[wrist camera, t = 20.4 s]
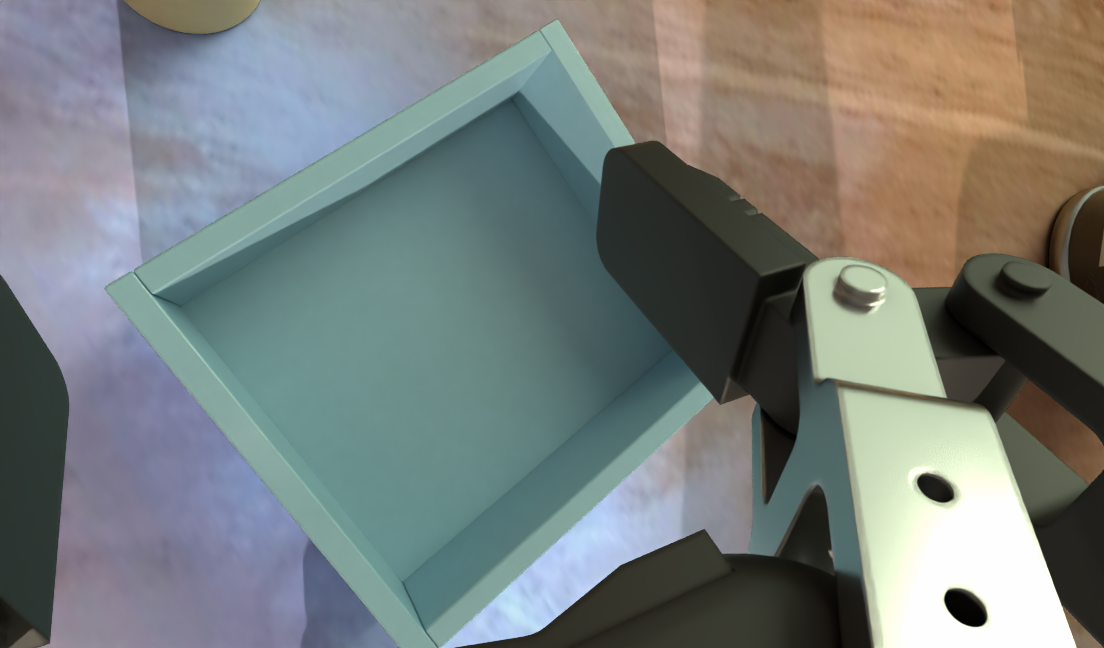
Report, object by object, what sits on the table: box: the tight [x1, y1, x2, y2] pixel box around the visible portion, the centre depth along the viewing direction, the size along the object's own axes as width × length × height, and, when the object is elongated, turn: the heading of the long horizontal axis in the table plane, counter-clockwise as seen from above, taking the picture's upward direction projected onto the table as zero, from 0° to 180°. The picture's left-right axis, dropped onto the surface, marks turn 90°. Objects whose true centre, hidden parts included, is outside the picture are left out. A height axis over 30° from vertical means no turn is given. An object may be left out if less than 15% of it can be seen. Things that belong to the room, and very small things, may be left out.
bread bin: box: [104, 19, 714, 648], centre depth 23 cm, size 16×14×5 cm
